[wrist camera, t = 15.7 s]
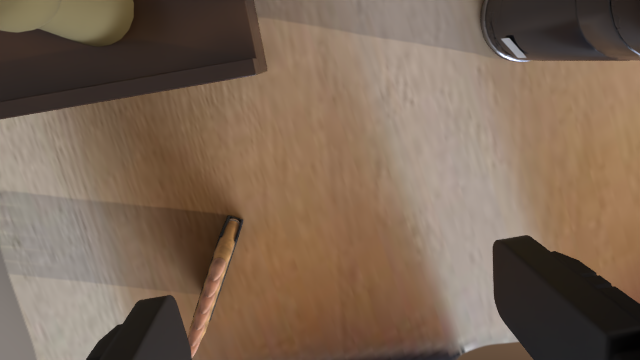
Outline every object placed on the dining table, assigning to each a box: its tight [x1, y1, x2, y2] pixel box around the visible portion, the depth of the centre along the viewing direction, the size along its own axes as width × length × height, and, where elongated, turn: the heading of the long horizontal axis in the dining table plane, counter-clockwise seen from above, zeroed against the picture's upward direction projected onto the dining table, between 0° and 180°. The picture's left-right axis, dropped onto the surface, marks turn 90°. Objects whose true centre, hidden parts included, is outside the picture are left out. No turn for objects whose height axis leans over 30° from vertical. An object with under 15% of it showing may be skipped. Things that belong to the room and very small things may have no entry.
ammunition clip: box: [188, 215, 243, 357], centre depth 41 cm, size 11×2×12 cm, turn 160°
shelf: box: [0, 0, 267, 119], centre depth 32 cm, size 14×22×13 cm, turn 100°
